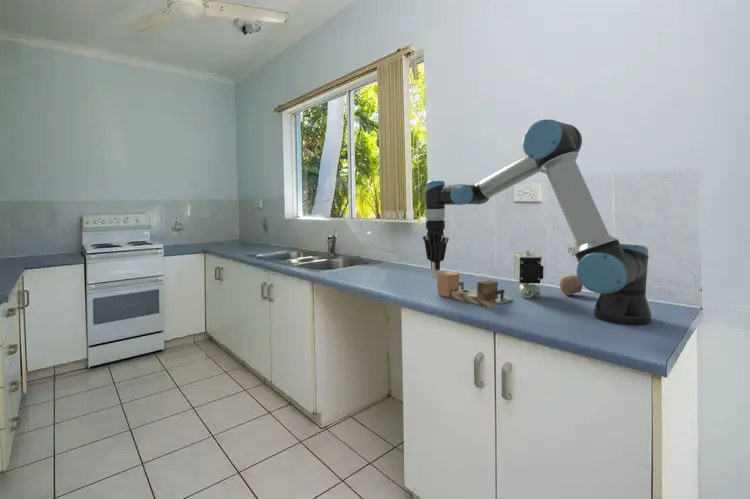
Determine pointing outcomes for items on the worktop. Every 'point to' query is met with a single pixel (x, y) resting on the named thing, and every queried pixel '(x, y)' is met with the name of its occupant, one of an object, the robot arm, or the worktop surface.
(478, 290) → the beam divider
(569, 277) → the tan rounded lump
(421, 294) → the worktop surface
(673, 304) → the worktop surface
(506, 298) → the flange strip
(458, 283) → the block
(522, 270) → the ball valve
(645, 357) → the worktop surface
